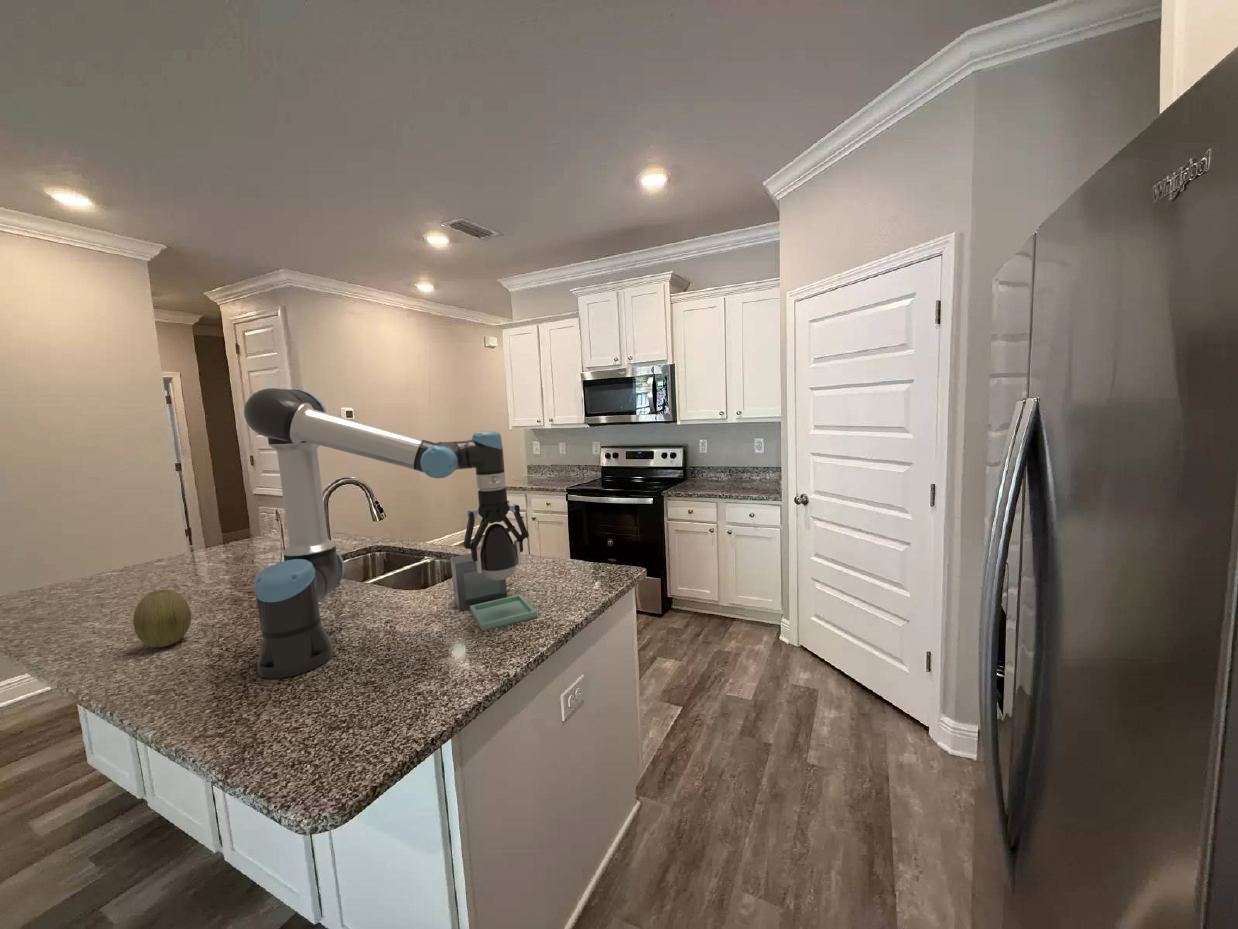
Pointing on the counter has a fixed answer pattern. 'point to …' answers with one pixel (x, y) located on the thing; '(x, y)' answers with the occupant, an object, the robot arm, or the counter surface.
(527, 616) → the tray
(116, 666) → the counter surface
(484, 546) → the pump dispenser
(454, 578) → the unit
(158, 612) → the fruit
